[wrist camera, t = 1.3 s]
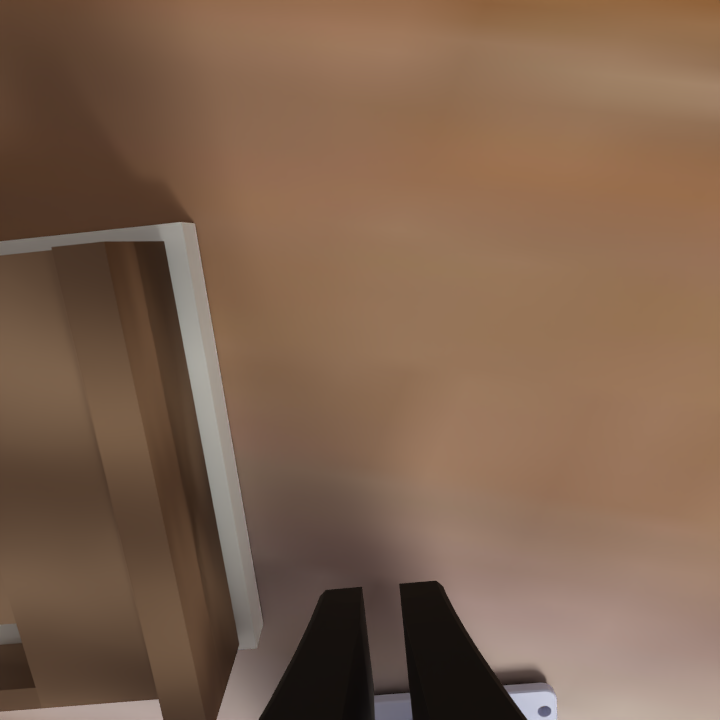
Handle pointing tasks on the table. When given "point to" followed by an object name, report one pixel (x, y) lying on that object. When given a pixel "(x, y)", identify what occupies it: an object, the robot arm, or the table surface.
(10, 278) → the brown rectangular box
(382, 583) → the table surface
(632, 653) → the table surface
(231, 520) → the board
